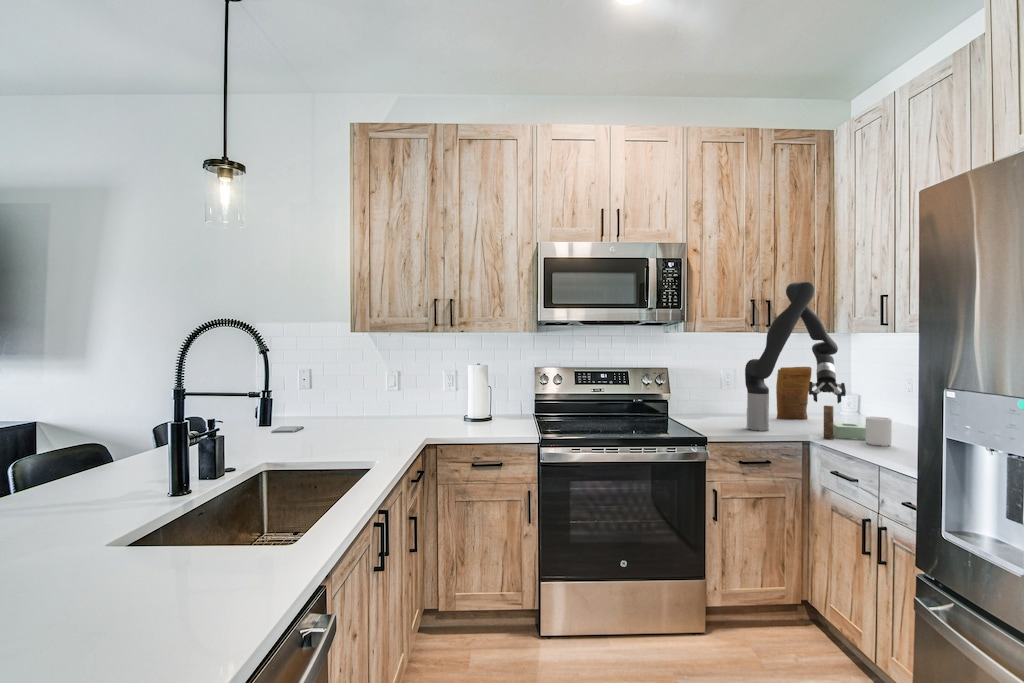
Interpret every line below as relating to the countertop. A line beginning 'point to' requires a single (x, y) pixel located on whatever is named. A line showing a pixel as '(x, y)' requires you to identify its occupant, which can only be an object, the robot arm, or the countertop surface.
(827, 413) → the dowel
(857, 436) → the socket block
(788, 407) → the pancake mix bag
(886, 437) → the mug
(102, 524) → the countertop surface
